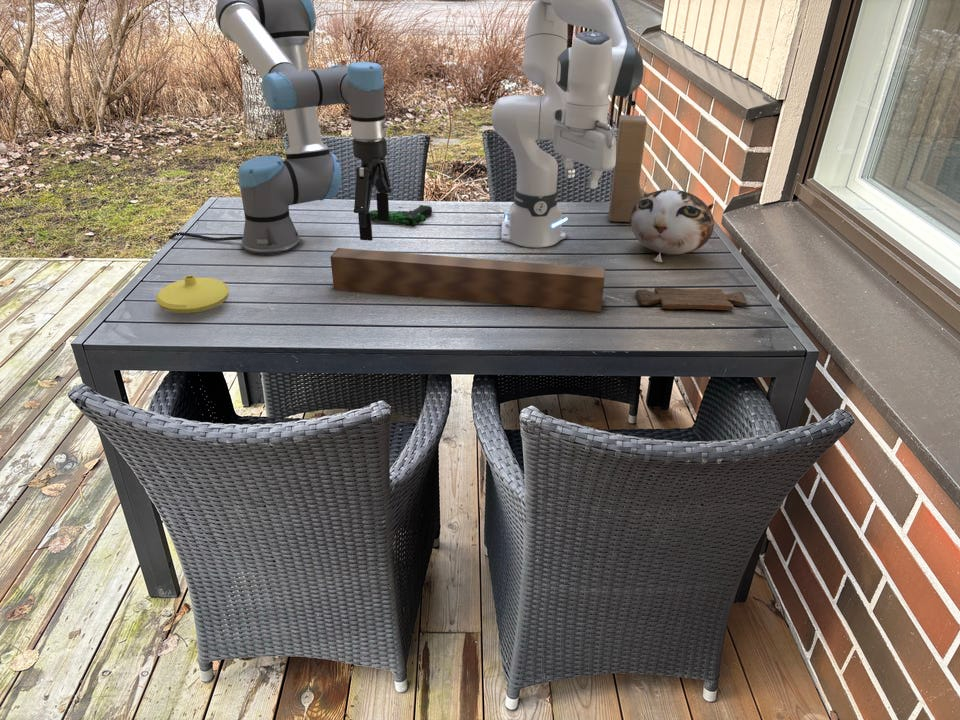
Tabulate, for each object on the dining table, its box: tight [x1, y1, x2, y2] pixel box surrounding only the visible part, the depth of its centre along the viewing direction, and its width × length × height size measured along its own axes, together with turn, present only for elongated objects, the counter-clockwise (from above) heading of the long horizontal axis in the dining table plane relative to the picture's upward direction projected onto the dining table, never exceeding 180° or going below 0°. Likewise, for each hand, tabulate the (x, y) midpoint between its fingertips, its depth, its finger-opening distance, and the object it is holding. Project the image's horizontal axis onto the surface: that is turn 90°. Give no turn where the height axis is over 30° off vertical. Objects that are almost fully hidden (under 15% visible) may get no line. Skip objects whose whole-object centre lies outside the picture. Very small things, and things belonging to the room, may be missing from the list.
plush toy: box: [629, 188, 715, 263], centre depth 192 cm, size 22×18×20 cm
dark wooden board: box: [635, 287, 748, 311], centre depth 169 cm, size 26×2×10 cm
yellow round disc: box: [155, 274, 230, 315], centre depth 163 cm, size 16×16×7 cm
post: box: [329, 247, 606, 313], centre depth 169 cm, size 64×5×9 cm, turn 81°
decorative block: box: [608, 114, 651, 223], centre depth 211 cm, size 8×15×30 cm, turn 82°
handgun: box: [370, 204, 433, 227], centre depth 216 cm, size 16×3×15 cm
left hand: (375, 229), depth 169 cm, fingers open, 13 cm apart
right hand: (580, 182), depth 157 cm, fingers open, 8 cm apart
